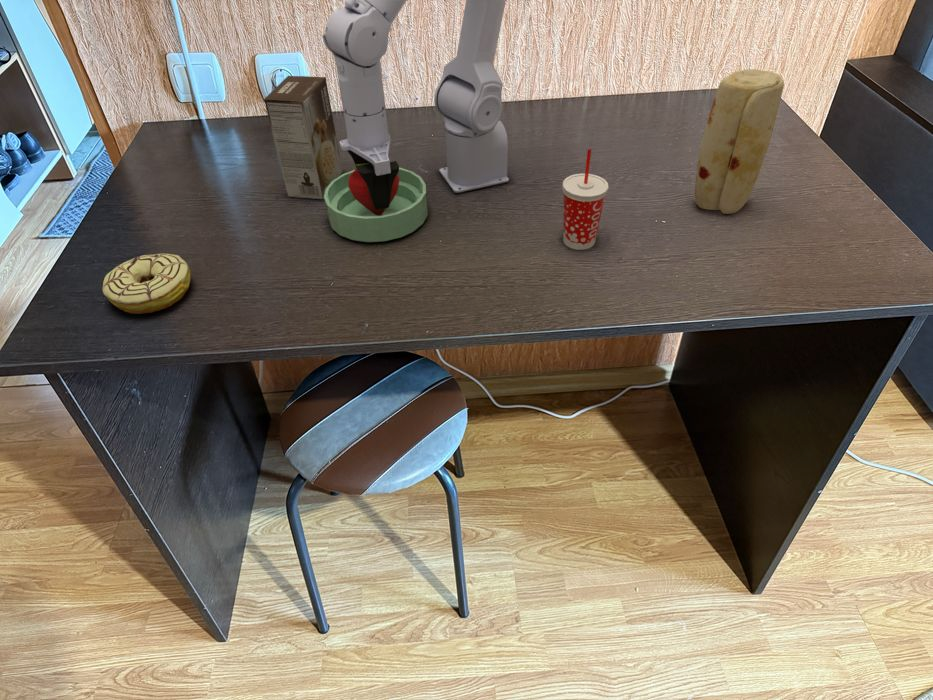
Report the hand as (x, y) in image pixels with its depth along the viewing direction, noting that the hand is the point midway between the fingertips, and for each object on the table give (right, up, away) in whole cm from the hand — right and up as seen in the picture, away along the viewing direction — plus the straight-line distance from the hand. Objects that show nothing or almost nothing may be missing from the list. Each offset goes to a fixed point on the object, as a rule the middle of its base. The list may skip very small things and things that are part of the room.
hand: (376, 197), depth 97 cm
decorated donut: (-28, -15, -10) cm, 34 cm away
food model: (+52, -1, +3) cm, 52 cm away
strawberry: (0, -2, +2) cm, 3 cm away
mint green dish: (0, -2, +2) cm, 3 cm away
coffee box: (-11, +4, +10) cm, 16 cm away
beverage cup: (+30, -7, -3) cm, 31 cm away
